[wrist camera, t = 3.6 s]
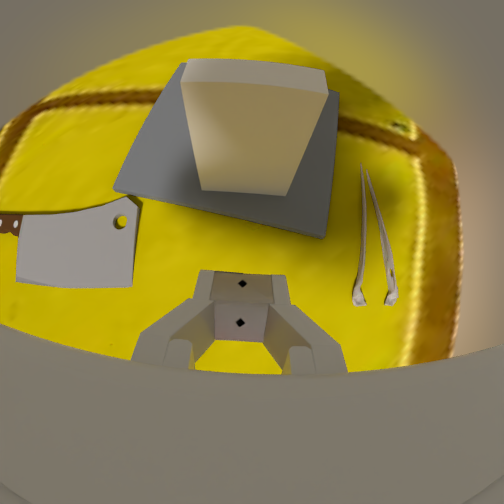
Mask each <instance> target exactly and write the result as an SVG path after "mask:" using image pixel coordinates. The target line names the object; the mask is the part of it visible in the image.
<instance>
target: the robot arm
mask: <svg viewBox="0 0 504 504" xmlns="http://www.w3.org/2000/svg"><path fill="white" fill-rule="evenodd" d="M215 340H235V341H249V342H263V344H264V346H265V347H266V348H267V350H268V351H269V353H270V354H271V355H272V357H273V358H274V359H275V361H276V362H277V363H278V365H279V366H280V368H281V369H282V370H283V371H282V374H281V375H267V374H240V373H224V372H211V371H201V370H195V362H196V361H197V360H198V359H199V358H200V357H201V356H202V354H203V353H204V352H205V351H206V350H207V349H208V348H209V347H210V345H211V344H212V343H213V342H214V341H215ZM0 504H504V344H502V345H499V346H495V347H492V348H488V349H485V350H481V351H477V352H473V353H469V354H465V355H461V356H457V357H452V358H448V359H443V360H438V361H433V362H427V363H422V364H416V365H409V366H403V367H396V368H388V369H380V370H371V371H360V372H348V371H347V367H346V364H345V360H344V357H343V353H342V350H341V346H340V344H338V343H337V342H336V341H335V340H334V339H333V338H332V337H330V336H329V335H328V334H327V333H326V332H325V331H324V330H322V329H321V328H320V327H319V326H318V325H317V324H316V323H315V322H313V321H312V320H311V319H310V318H309V317H308V316H307V315H306V314H304V313H303V312H302V311H301V310H300V309H299V308H298V307H296V306H295V305H291V303H290V297H289V291H288V286H287V280H286V276H285V275H260V274H243V273H234V272H223V271H212V270H200V272H199V276H198V279H197V283H196V287H195V291H194V295H193V299H190V298H189V299H187V300H186V301H184V302H183V303H182V304H180V305H179V306H177V307H176V308H175V309H173V310H172V311H170V312H169V313H168V314H166V315H165V316H163V317H162V318H161V319H159V320H158V321H157V322H155V323H154V324H152V325H151V326H150V327H148V328H147V329H145V330H144V331H143V332H141V333H140V336H139V339H138V341H137V344H136V347H135V349H134V352H133V355H132V358H131V361H130V360H125V359H120V358H115V357H110V356H106V355H101V354H97V353H92V352H88V351H84V350H80V349H76V348H73V347H69V346H65V345H62V344H58V343H55V342H52V341H48V340H45V339H42V338H39V337H36V336H33V335H30V334H27V333H24V332H21V331H19V330H16V329H13V328H11V327H8V326H5V325H3V324H0Z"/></svg>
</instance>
